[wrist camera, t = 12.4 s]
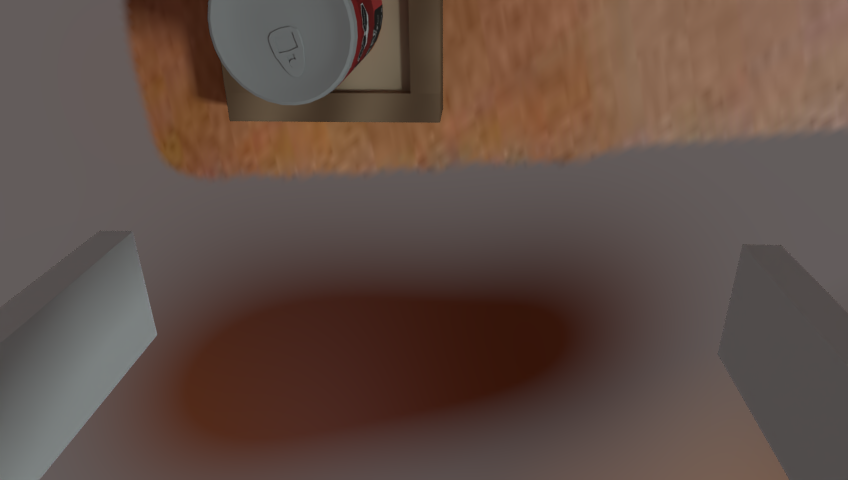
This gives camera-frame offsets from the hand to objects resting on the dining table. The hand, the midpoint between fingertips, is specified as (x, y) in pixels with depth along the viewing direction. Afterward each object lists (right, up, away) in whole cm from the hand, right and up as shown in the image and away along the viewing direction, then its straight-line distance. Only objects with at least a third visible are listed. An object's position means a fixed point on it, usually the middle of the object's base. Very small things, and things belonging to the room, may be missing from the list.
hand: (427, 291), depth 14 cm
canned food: (-6, +17, +28) cm, 33 cm away
